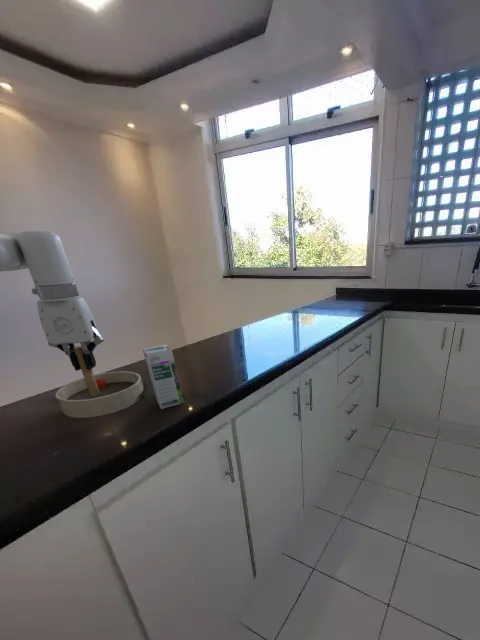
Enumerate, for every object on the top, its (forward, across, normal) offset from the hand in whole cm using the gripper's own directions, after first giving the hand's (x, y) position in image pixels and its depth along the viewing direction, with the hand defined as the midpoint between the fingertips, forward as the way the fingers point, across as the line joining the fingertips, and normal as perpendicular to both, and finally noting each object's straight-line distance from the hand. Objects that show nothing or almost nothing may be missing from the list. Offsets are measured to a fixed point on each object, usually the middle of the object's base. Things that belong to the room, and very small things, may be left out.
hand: (85, 367), depth 79 cm
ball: (+7, -1, +5) cm, 9 cm away
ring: (+9, +2, -1) cm, 9 cm away
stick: (+8, 0, 0) cm, 8 cm away
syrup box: (+9, +20, -6) cm, 23 cm away
